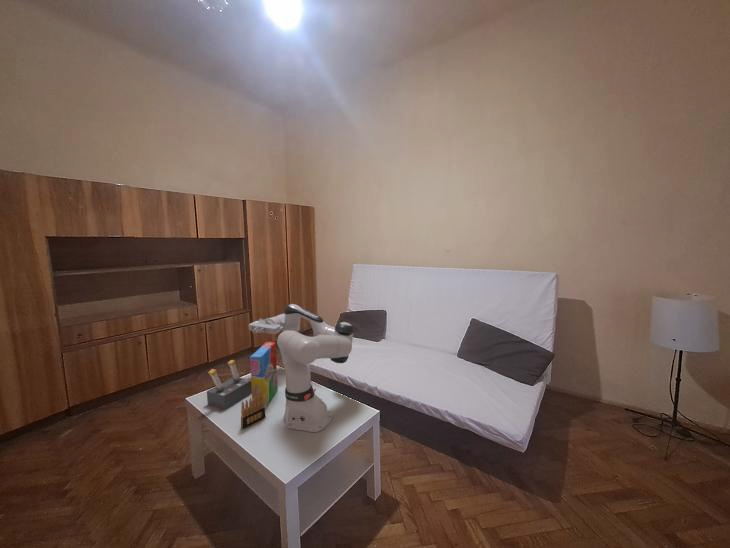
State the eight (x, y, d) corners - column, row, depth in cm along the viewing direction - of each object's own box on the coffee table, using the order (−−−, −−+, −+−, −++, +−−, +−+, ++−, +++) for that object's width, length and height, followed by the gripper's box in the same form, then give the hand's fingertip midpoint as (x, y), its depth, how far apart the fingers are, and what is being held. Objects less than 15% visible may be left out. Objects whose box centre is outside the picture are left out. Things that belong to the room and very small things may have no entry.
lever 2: (241, 379, 150) (235, 360, 146) (237, 382, 148) (231, 363, 144) (237, 378, 152) (230, 359, 148) (233, 381, 150) (227, 362, 146)
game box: (263, 412, 134) (260, 357, 131) (252, 412, 134) (249, 357, 131) (277, 389, 155) (275, 341, 152) (268, 389, 155) (265, 341, 152)
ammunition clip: (243, 429, 122) (241, 403, 121) (241, 427, 123) (239, 401, 122) (265, 417, 130) (264, 392, 129) (263, 416, 132) (262, 391, 130)
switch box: (252, 392, 152) (251, 380, 151) (224, 410, 136) (223, 395, 136) (235, 388, 157) (235, 375, 156) (207, 404, 141) (206, 390, 141)
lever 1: (225, 388, 141) (216, 369, 136) (221, 392, 140) (212, 373, 134) (220, 387, 143) (211, 368, 138) (217, 390, 141) (207, 372, 136)
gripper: (285, 332, 168) (269, 339, 156) (259, 328, 177) (241, 335, 164) (285, 321, 167) (268, 328, 155) (259, 318, 176) (241, 324, 163)
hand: (254, 331), depth 160 cm, fingers closed
